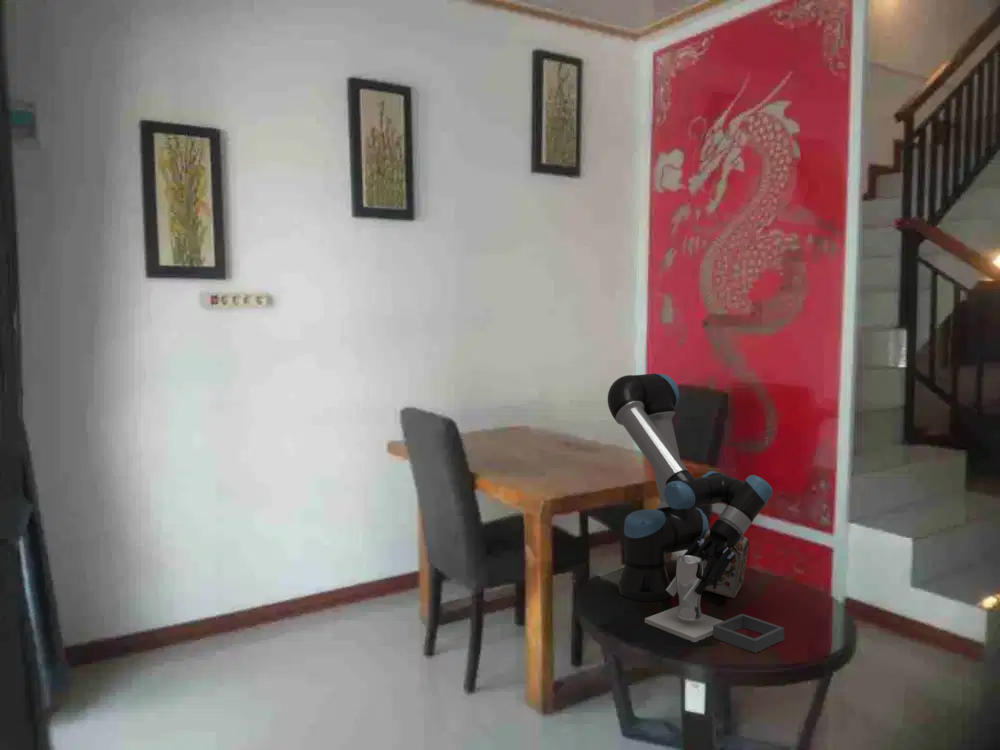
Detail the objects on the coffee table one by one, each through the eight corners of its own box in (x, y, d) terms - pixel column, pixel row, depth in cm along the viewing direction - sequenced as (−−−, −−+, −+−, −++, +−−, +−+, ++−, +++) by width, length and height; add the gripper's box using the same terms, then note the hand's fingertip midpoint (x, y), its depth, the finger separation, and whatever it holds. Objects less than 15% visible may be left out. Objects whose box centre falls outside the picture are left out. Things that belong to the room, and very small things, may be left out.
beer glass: (704, 622, 188) (704, 563, 187) (676, 620, 189) (676, 562, 188) (702, 611, 195) (702, 555, 194) (675, 610, 196) (674, 554, 195)
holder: (713, 637, 185) (713, 625, 185) (742, 625, 192) (742, 613, 192) (755, 653, 176) (755, 641, 175) (784, 639, 183) (784, 627, 183)
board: (644, 622, 195) (644, 618, 195) (679, 609, 203) (679, 605, 203) (694, 642, 182) (694, 637, 182) (729, 627, 191) (729, 623, 191)
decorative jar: (742, 586, 220) (752, 528, 218) (735, 599, 210) (745, 539, 208) (702, 575, 226) (711, 518, 223) (693, 587, 216) (702, 527, 213)
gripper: (763, 545, 187) (711, 619, 182) (713, 527, 206) (664, 594, 200) (747, 527, 185) (693, 602, 180) (697, 510, 203) (647, 577, 198)
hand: (678, 597), depth 190 cm, fingers closed on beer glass, 7 cm apart
